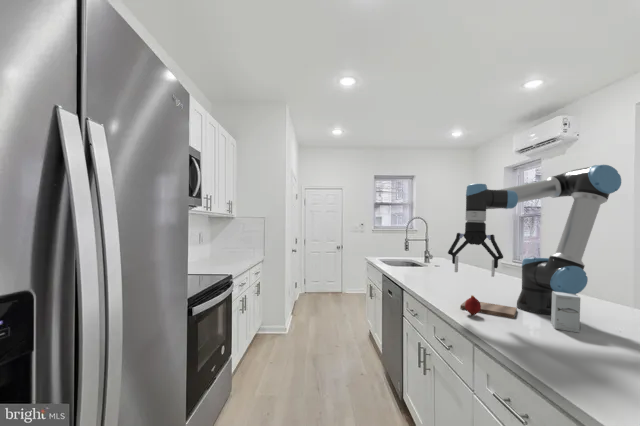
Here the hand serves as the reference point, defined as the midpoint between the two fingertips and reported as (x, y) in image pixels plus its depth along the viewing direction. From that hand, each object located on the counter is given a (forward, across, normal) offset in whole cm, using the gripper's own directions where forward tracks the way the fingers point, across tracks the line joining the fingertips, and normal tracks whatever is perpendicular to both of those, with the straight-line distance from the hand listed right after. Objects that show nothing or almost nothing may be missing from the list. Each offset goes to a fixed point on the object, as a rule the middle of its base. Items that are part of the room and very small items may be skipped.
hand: (474, 274), depth 129 cm
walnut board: (+17, +4, +14) cm, 22 cm away
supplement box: (+17, +30, +6) cm, 35 cm away
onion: (+17, 0, 0) cm, 17 cm away
